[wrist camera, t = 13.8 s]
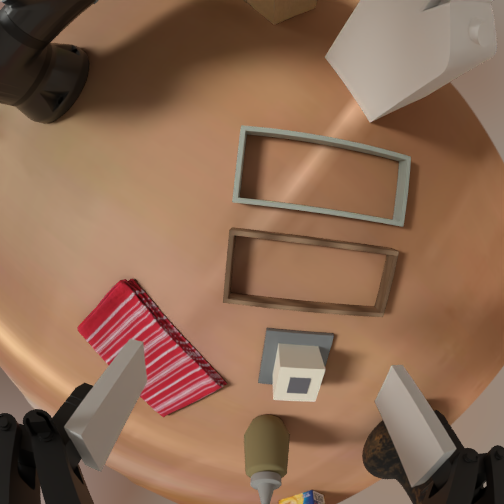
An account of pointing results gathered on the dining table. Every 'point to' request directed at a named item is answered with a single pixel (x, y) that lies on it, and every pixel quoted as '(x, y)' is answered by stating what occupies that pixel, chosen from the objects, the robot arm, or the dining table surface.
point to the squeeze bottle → (266, 454)
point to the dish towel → (150, 348)
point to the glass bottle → (389, 462)
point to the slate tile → (290, 337)
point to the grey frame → (269, 132)
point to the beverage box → (305, 498)
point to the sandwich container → (281, 8)
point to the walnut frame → (308, 305)
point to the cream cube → (297, 372)
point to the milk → (410, 49)
